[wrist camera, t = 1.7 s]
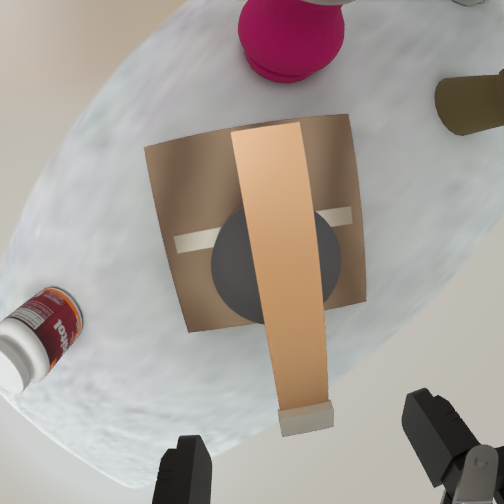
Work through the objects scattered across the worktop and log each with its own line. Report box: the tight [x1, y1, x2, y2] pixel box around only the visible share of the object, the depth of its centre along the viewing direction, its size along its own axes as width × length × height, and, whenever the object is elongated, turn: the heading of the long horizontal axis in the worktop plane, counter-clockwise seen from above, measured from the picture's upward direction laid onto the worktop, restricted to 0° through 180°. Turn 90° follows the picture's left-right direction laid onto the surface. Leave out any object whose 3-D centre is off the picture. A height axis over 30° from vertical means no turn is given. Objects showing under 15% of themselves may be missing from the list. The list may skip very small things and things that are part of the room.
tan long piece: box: [211, 122, 341, 437], centre depth 13 cm, size 6×12×8 cm, turn 10°
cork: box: [435, 69, 504, 136], centre depth 16 cm, size 6×6×11 cm
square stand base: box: [144, 114, 366, 333], centre depth 21 cm, size 16×16×8 cm
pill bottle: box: [0, 288, 82, 394], centre depth 21 cm, size 6×6×11 cm
